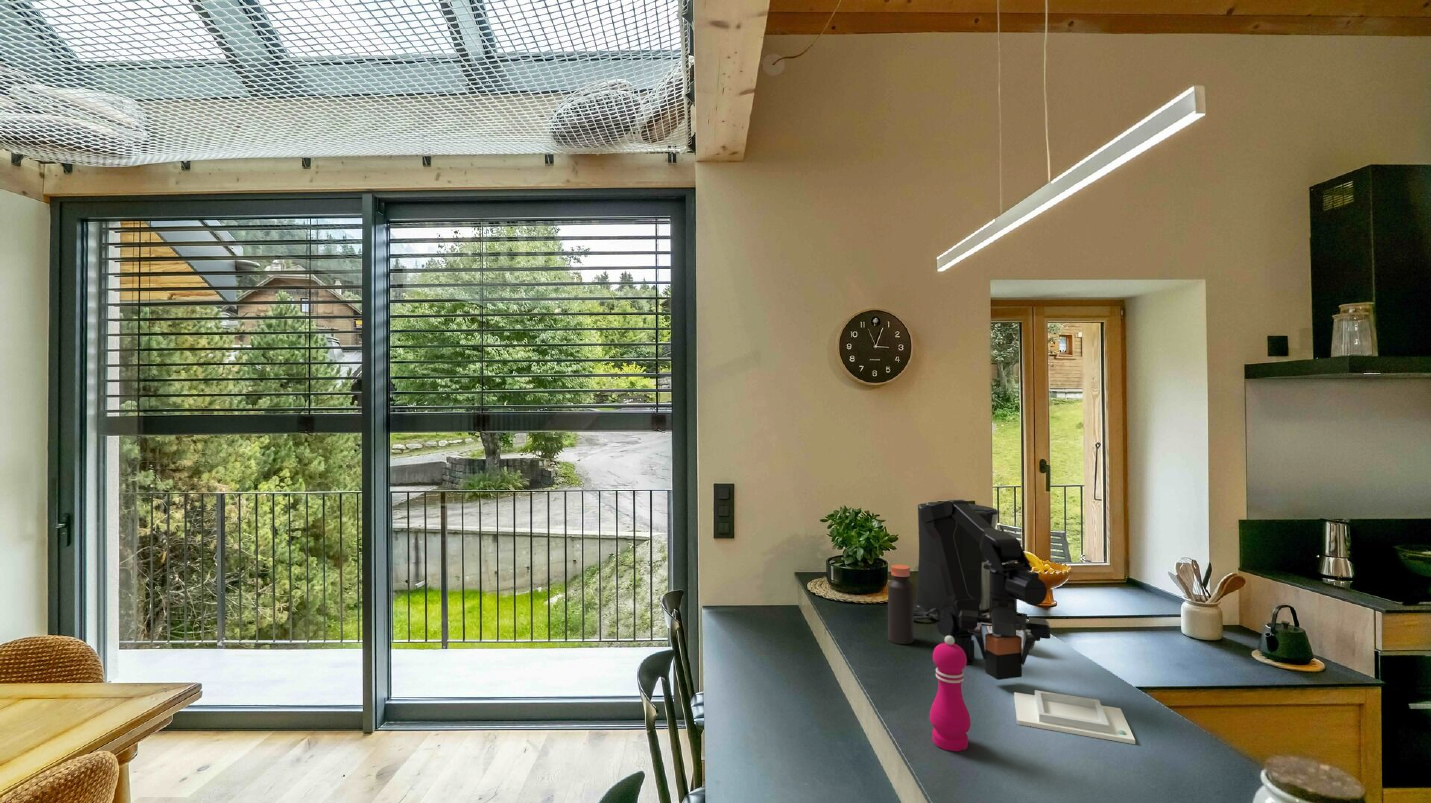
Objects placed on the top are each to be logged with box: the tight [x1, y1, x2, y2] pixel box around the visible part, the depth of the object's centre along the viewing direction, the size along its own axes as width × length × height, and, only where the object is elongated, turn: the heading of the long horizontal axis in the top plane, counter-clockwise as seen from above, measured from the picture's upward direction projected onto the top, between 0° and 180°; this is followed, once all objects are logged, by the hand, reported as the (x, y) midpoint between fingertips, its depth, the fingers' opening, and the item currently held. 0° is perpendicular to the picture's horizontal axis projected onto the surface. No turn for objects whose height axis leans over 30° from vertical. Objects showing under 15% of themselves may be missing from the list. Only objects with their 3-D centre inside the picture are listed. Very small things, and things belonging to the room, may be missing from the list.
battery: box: [984, 632, 1023, 681], centre depth 146 cm, size 4×7×10 cm, turn 106°
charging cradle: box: [1013, 689, 1136, 745], centre depth 130 cm, size 20×14×2 cm
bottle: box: [887, 564, 915, 645], centre depth 175 cm, size 7×7×20 cm
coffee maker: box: [914, 501, 999, 622], centre depth 199 cm, size 23×32×34 cm
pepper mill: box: [929, 636, 972, 752], centre depth 121 cm, size 7×7×20 cm
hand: (1003, 661), depth 146 cm, fingers closed on battery, 8 cm apart
